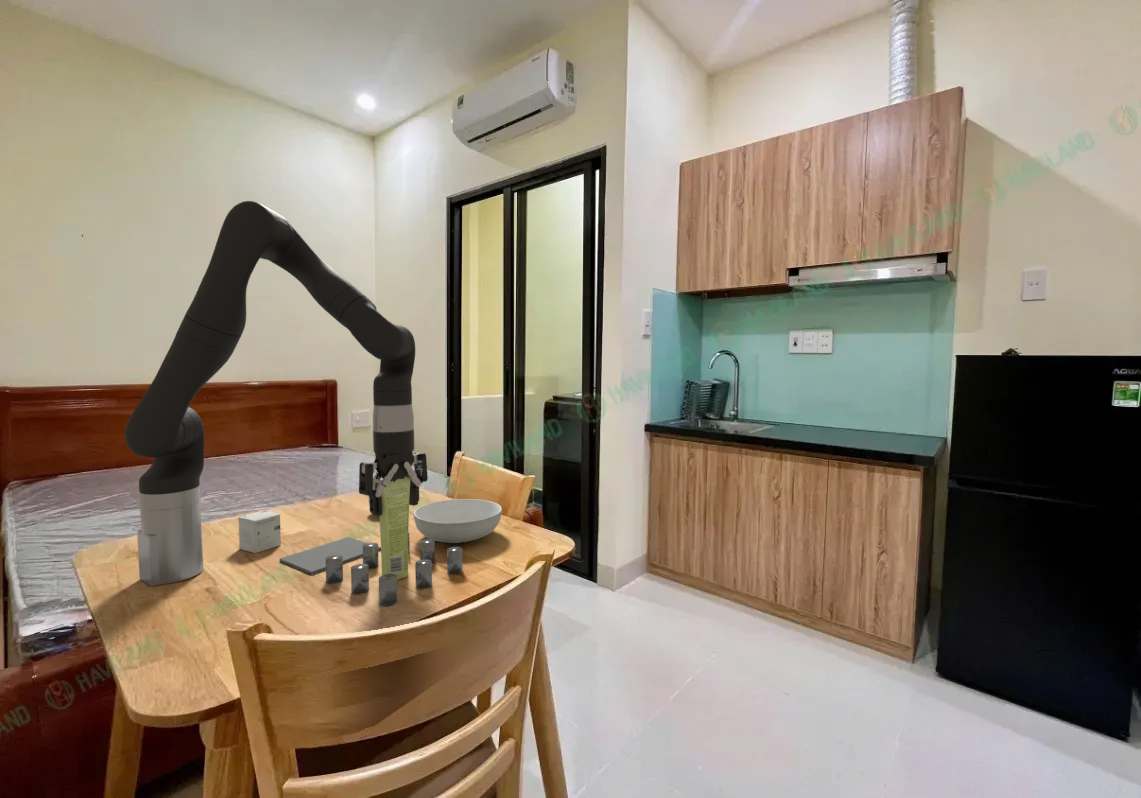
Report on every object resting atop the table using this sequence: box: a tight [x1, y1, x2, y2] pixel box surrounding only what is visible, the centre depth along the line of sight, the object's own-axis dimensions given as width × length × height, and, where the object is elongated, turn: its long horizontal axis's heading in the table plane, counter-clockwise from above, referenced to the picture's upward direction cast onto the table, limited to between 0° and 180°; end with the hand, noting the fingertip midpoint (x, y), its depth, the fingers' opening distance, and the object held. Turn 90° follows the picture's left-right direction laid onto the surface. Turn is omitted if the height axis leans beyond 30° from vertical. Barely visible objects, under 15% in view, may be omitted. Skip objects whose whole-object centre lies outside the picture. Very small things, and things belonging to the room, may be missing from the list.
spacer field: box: [325, 532, 463, 607], centre depth 100 cm, size 19×19×4 cm
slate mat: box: [279, 536, 381, 575], centre depth 110 cm, size 16×12×1 cm
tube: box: [377, 477, 410, 580], centre depth 100 cm, size 6×5×20 cm
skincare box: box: [238, 510, 282, 554], centre depth 115 cm, size 6×6×7 cm
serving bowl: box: [413, 498, 503, 544], centre depth 123 cm, size 21×21×7 cm
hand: (395, 509), depth 99 cm, fingers open, 8 cm apart
